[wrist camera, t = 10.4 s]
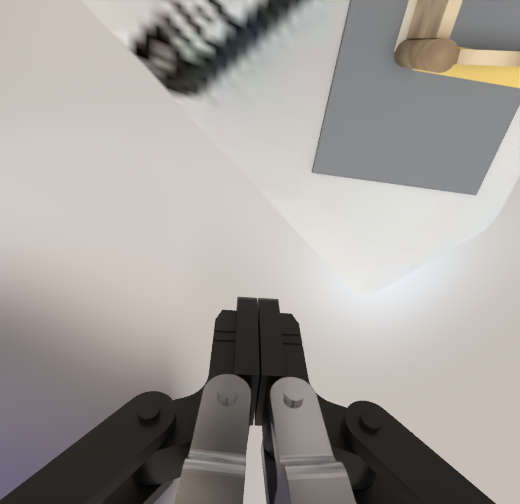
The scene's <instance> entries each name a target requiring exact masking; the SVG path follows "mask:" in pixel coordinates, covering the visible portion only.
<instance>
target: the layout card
mask: <svg viewBox="0 0 520 504" xmlns="http://www.w3.org/2000/svg"><path fill="white" fill-rule="evenodd" d="M416 3H417V0H351V1H350V6H349V10H348V15H347V19H346V24H345V28H344V32H343V37H342V41H341V46H340V50H339V55H338V59H337V63H336V68H335V72H334V77H333V81H332V86H331V90H330V94H329V99H328V103H327V108H326V112H325V117H324V121H323V125H322V130H321V134H320V139H319V143H318V148H317V152H316V156H315V161H314V165H313V170H312V172H313V173H318V174H325V175H333V176H340V177H347V178H354V179H362V180H369V181H376V182H383V183H391V184H398V185H405V186H412V187H420V188H427V189H434V190H441V191H449V192H456V193H463V194H471V195H477V192H478V190H479V188H480V186H481V184H482V182H483V180H484V178H485V176H486V174H487V172H488V169H489V167H490V165H491V163H492V161H493V159H494V157H495V155H496V153H497V151H498V149H499V146H500V144H501V142H502V140H503V138H504V136H505V134H506V132H507V130H508V128H509V126H510V123H511V121H512V119H513V117H514V115H515V113H516V111H517V109H518V107H519V105H520V67H515V66H490V65H464V64H454V65H453V66H452V67H451V68H450V69H449V70H448V71H446V72H443V73H435V72H429V71H423V70H417V69H411V68H405V67H401V66H399V65H398V64H397V63H396V62H395V59H394V53H395V51H396V48H397V46H398V45H399V44H400V43H401V42H402V41H404V40H407V39H406V36H407V33H408V30H409V26H410V23H411V20H412V16H413V13H414V10H415V6H416ZM449 39H451V40H453V41H455V42H456V44H457V46H458V49H472V50H496V51H520V0H463V1H462V4H461V7H460V9H459V12H458V15H457V18H456V21H455V23H454V26H453V29H452V32H451V35H450V38H449Z"/></svg>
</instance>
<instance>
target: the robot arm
mask: <svg viewBox="0 0 520 504" xmlns="http://www.w3.org/2000/svg"><path fill="white" fill-rule="evenodd" d="M254 412H255V425H257V426H258V425H260V426H262V429H263V430H262V432H263V440H262V447H261V455H262V465H263V474H264V484H265V494H266V503H267V504H495V503H494V502H493V501H492V500H491V499H490V498H488V497H487V496H486V495H485V494H484V493H482V492H481V491H480V490H479V489H478V488H477V487H475V486H474V485H473V484H472V483H471V482H469V481H468V480H467V479H466V478H465V477H464V476H462V475H461V474H460V473H459V472H458V471H456V470H455V469H454V468H453V467H452V466H451V465H449V464H448V463H447V462H446V461H445V460H443V459H442V458H441V457H440V456H439V455H438V454H436V453H435V452H434V451H433V450H432V449H430V448H429V447H428V446H427V445H425V444H424V443H423V442H422V441H421V440H420V439H419V438H417V437H416V436H415V435H414V434H413V433H412V432H410V431H409V430H408V429H407V428H406V427H404V426H403V425H402V424H401V423H400V422H398V421H397V420H396V419H395V418H394V417H393V416H391V415H390V414H389V413H388V412H387V411H385V410H384V409H383V408H382V407H380V406H379V405H377V404H375V403H372V402H369V401H356V402H354V403H352V404H350V406H348V408H346V407H343V406H340V405H337V404H333V403H331V402H329V401H326V400H325V399H323V398H321V397H320V396H319V395H317V393H316V392H315V391H314V389H313V388H312V386H311V385H310V383H309V380H308V374H307V368H306V363H305V357H304V351H303V346H302V339H301V334H300V328H299V323H298V322H297V321H296V320H295V318H294V317H293V315H292V314H286V313H280V311H279V302H278V299H267V298H258V304H257V298H248V297H238V299H237V311H232V310H222V311H221V313H220V314H219V315H218V317H217V318H216V320H215V329H214V336H213V344H212V352H211V361H210V369H209V376H208V380H207V382H206V383H205V385H204V386H203V388H201V389H200V390H199V391H198V392H196V393H195V394H193V395H190V396H187V397H184V398H180V399H176V400H172V399H171V398H170V397H169V396H168V395H166V394H164V393H162V392H156V391H151V392H145V393H142V394H140V395H138V396H136V397H134V398H133V399H132V400H130V401H129V402H128V403H126V404H125V405H124V406H122V407H121V408H120V409H118V410H117V411H116V412H115V413H113V414H112V415H111V416H109V417H108V418H107V419H105V420H104V421H103V422H102V423H100V424H99V425H98V426H97V427H95V428H94V429H93V430H91V431H90V432H89V433H87V434H86V435H85V436H83V437H82V438H81V439H80V440H78V441H77V442H76V443H74V444H73V445H72V446H70V447H69V448H68V449H66V450H65V451H64V452H62V453H61V454H60V455H59V456H57V457H56V458H55V459H53V460H52V461H51V462H49V463H48V464H47V465H46V466H44V467H43V468H42V469H40V470H39V471H38V472H37V473H35V474H34V475H33V476H31V477H30V478H29V479H27V480H26V481H25V482H23V483H22V484H21V485H20V486H18V487H17V488H16V489H15V490H13V491H12V492H10V493H9V494H8V495H6V496H5V497H4V498H3V499H1V500H0V504H153V503H154V502H155V501H156V500H157V499H158V498H159V497H160V496H161V495H162V494H163V493H164V492H165V491H166V490H167V488H168V487H169V486H170V485H171V484H172V483H173V481H174V479H176V478H179V477H180V481H179V485H178V490H177V494H176V499H175V503H174V504H243V494H244V482H245V469H246V463H245V462H246V449H247V441H248V434H249V426H250V425H253V419H254Z"/></svg>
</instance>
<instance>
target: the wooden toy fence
mask: <svg viewBox="0 0 520 504" xmlns="http://www.w3.org/2000/svg"><path fill="white" fill-rule="evenodd" d="M462 1H463V0H417V3H416V6H415V10H414V13H413V16H412V20H411V23H410V26H409V30H408V33H407V36H406V39H407V40H404V41H402V42H401V43H400V44H399V45H398V46H397V48H396V51H395V53H394V59H395V62H396V63H397V64H398V65H399V66H401V67H405V68H411V69H417V70H423V71H429V72H435V73H443V72H446V71H448V70H449V69H450V68H451V67H452V66H453V65H454V64H455V62H456V60H457V58H458V54H459V49H458V46H457V44H456V42H455V41H453V40H451V39H449V38H450V35H451V32H452V29H453V26H454V23H455V21H456V18H457V15H458V12H459V9H460V7H461V4H462Z"/></svg>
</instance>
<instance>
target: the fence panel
mask: <svg viewBox="0 0 520 504" xmlns="http://www.w3.org/2000/svg"><path fill="white" fill-rule="evenodd" d="M455 64H464V65H490V66H515V67H520V51H496V50H472V49H459V54H458V58H457V60H456V62H455Z"/></svg>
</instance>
